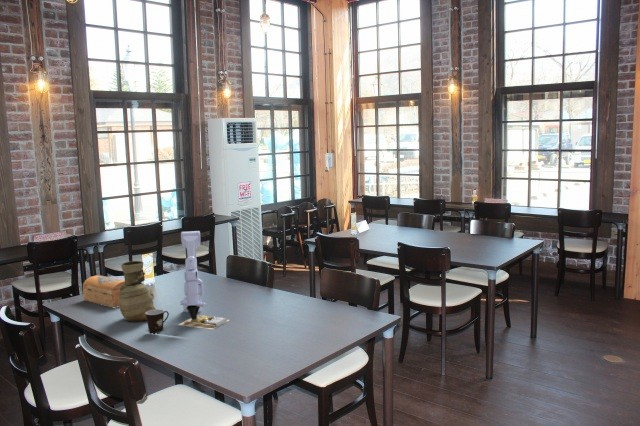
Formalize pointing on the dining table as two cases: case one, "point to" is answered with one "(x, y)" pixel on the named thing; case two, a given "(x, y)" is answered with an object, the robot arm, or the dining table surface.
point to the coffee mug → (155, 320)
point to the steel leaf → (215, 321)
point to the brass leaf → (200, 319)
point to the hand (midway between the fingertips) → (194, 319)
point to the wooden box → (102, 290)
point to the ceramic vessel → (135, 293)
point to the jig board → (199, 324)
